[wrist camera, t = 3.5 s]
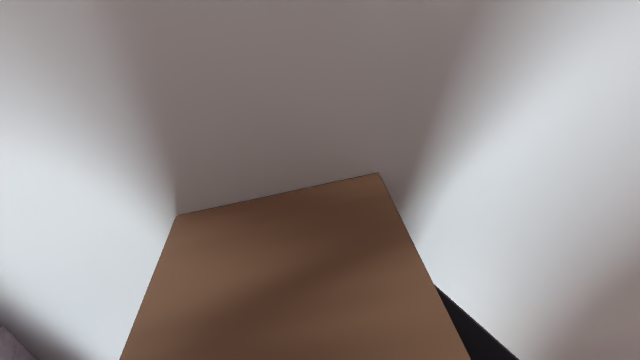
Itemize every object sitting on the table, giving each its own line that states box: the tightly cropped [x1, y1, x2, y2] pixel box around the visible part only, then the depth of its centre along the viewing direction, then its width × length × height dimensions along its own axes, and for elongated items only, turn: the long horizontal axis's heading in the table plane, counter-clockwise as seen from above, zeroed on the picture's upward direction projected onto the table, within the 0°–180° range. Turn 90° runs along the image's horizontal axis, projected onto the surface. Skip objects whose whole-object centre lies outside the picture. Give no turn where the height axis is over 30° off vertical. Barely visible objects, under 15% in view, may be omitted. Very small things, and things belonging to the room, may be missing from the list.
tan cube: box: [120, 173, 471, 360], centre depth 8 cm, size 5×5×5 cm
